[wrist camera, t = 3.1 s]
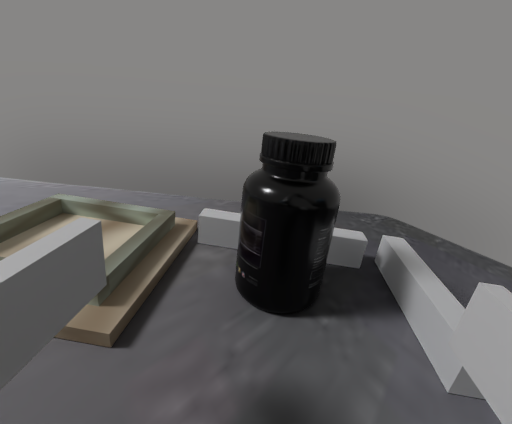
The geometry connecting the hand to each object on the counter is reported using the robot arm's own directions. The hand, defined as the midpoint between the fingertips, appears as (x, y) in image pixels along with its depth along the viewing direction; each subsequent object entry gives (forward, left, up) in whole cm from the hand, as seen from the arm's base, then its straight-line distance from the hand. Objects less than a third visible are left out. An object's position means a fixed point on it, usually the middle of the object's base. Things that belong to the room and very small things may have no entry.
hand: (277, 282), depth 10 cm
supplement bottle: (-1, -11, -8) cm, 13 cm away
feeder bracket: (-3, -11, -8) cm, 13 cm away
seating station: (+16, -11, -8) cm, 21 cm away
